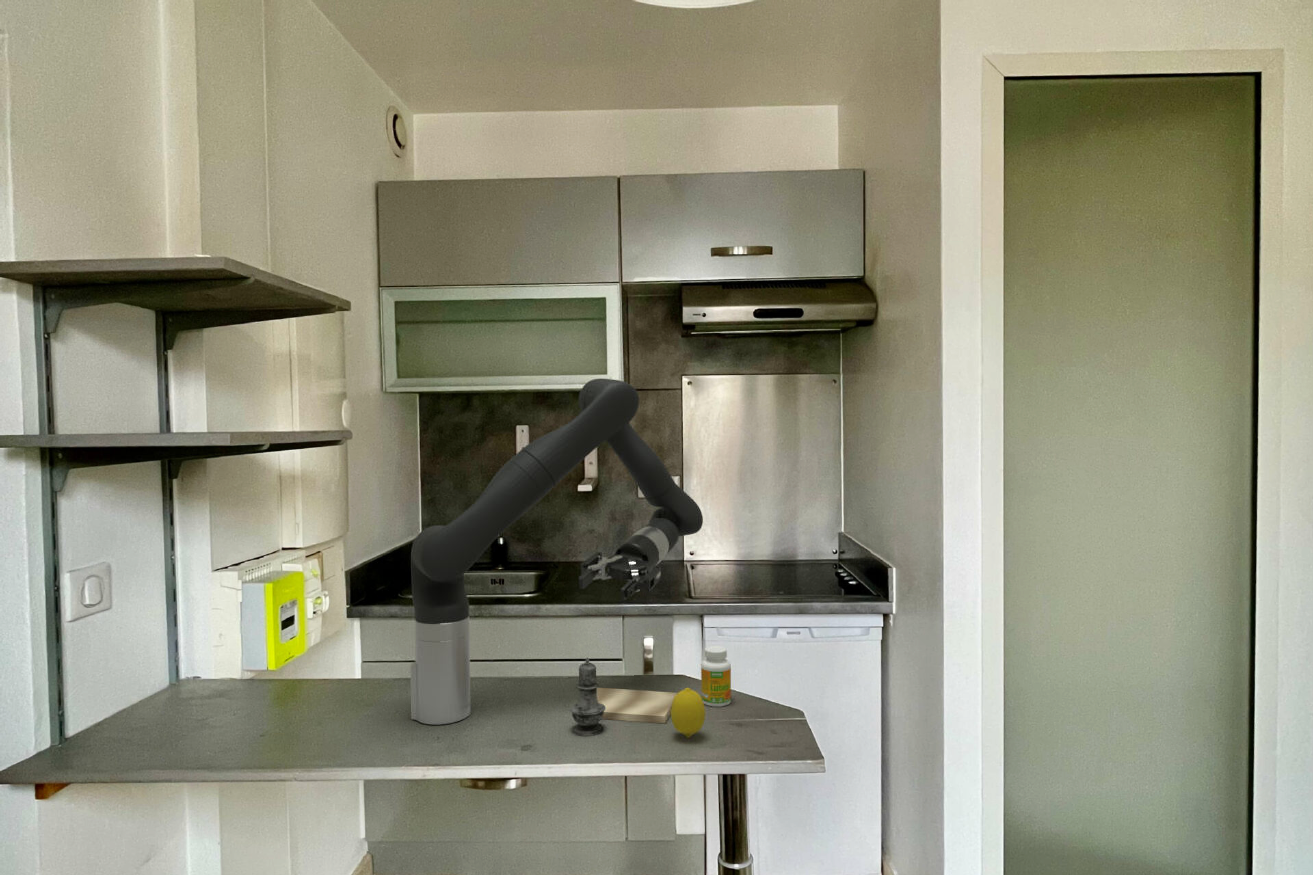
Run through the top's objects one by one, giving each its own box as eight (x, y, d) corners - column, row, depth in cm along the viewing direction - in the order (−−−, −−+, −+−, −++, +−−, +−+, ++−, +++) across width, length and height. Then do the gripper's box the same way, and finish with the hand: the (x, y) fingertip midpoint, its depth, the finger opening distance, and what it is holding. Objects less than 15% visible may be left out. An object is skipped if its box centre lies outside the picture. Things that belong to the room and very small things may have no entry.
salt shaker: (600, 737, 124) (599, 663, 124) (565, 734, 125) (564, 661, 125) (609, 723, 129) (609, 653, 129) (576, 721, 131) (575, 651, 131)
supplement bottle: (709, 709, 136) (708, 654, 136) (696, 699, 141) (696, 646, 141) (736, 704, 138) (735, 651, 138) (723, 695, 143) (722, 643, 143)
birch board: (575, 716, 133) (575, 709, 133) (596, 693, 145) (596, 687, 145) (664, 723, 129) (664, 716, 129) (678, 699, 141) (678, 692, 141)
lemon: (666, 741, 122) (665, 691, 122) (677, 728, 127) (676, 680, 127) (699, 746, 120) (699, 695, 120) (709, 732, 125) (708, 684, 125)
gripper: (610, 527, 151) (566, 562, 137) (676, 541, 145) (636, 579, 131) (611, 561, 153) (568, 599, 140) (675, 576, 147) (637, 617, 134)
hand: (601, 589), depth 135 cm, fingers open, 8 cm apart
